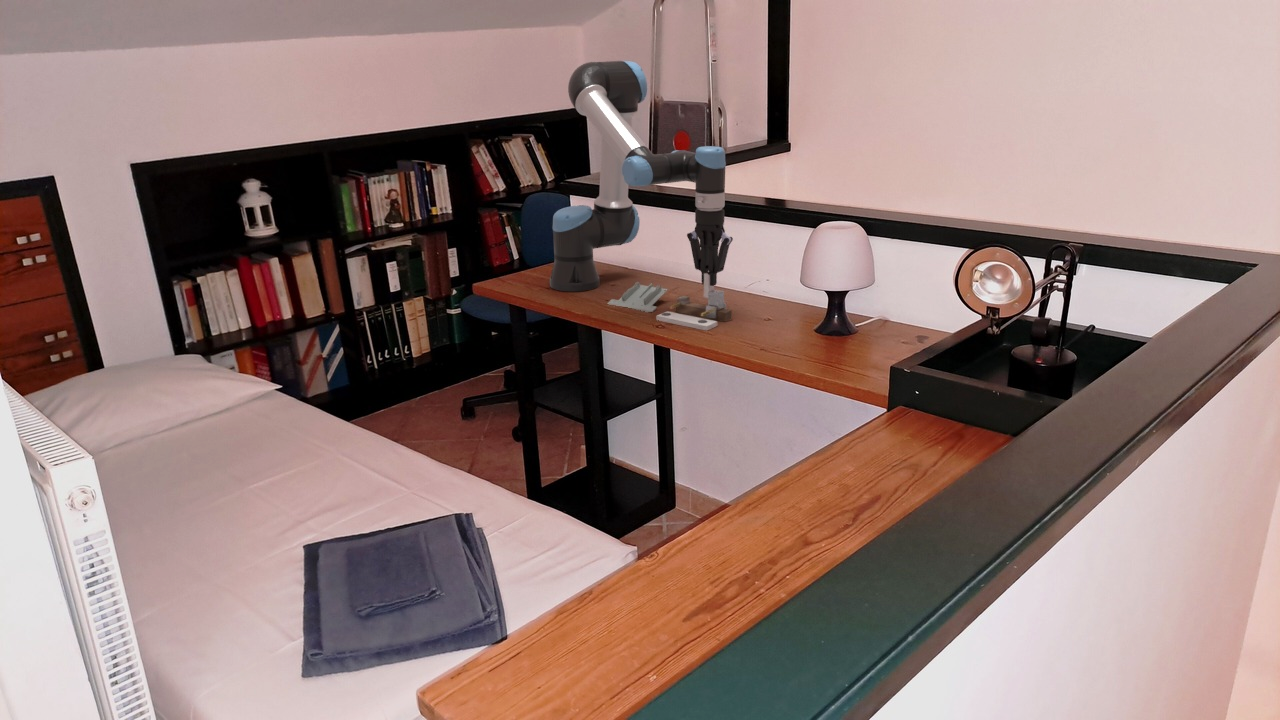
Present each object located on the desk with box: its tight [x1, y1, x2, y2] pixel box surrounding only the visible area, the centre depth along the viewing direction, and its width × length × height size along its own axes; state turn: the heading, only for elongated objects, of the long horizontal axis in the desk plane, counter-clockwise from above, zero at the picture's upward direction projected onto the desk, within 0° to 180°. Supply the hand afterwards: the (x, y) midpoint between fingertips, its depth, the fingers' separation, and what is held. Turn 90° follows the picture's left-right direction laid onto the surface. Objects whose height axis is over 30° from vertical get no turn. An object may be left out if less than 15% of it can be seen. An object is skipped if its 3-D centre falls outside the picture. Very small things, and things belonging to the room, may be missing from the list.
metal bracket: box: [606, 281, 668, 313], centre depth 258 cm, size 14×6×15 cm
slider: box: [701, 288, 727, 318], centre depth 241 cm, size 3×9×7 cm, turn 143°
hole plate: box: [655, 311, 718, 331], centre depth 240 cm, size 16×5×1 cm, turn 53°
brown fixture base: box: [669, 295, 733, 323], centre depth 244 cm, size 16×7×4 cm, turn 53°
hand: (708, 296), depth 243 cm, fingers closed
